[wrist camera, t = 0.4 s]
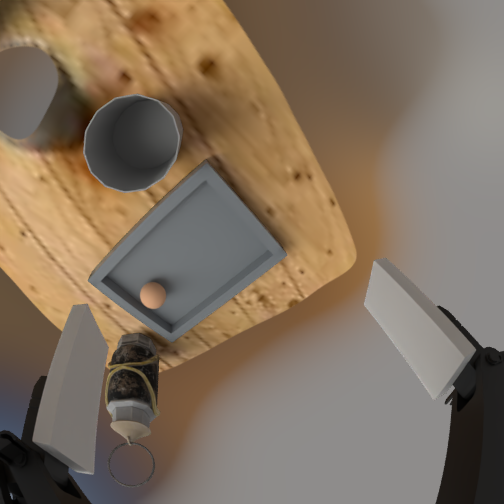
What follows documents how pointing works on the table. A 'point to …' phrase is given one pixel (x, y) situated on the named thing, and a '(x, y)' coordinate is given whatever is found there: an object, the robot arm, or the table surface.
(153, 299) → the ball
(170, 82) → the table surface
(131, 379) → the lantern
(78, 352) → the robot arm
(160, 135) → the cup
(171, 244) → the tray
